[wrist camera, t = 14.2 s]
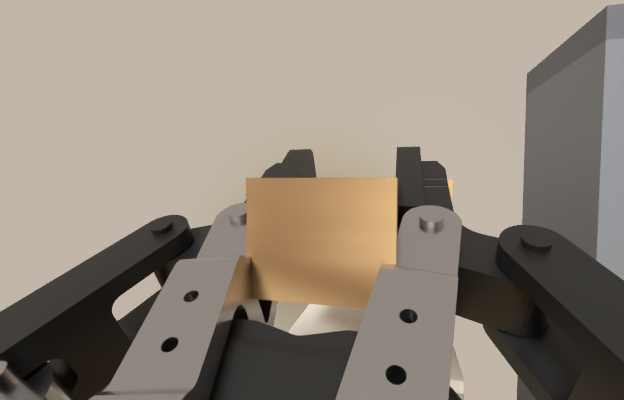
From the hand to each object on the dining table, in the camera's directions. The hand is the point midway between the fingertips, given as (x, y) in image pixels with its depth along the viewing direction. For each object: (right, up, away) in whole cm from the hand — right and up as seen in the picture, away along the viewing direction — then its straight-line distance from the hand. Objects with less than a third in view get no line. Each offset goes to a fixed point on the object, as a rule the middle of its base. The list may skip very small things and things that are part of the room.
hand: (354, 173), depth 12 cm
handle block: (0, -5, +2) cm, 6 cm away
